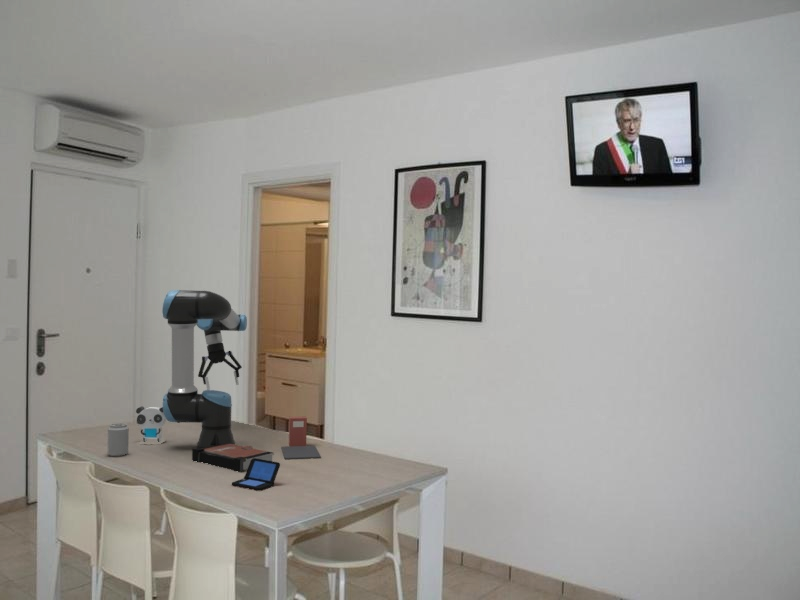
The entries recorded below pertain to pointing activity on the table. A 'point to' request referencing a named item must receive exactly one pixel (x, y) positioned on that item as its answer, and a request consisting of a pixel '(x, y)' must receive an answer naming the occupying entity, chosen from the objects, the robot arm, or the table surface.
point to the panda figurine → (151, 422)
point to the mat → (300, 452)
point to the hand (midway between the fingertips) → (223, 387)
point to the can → (118, 439)
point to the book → (230, 456)
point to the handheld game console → (259, 475)
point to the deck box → (297, 431)
